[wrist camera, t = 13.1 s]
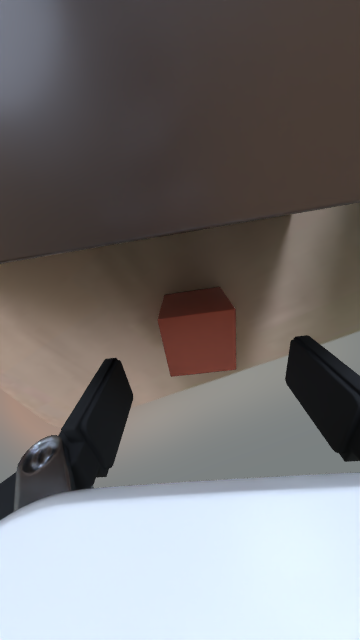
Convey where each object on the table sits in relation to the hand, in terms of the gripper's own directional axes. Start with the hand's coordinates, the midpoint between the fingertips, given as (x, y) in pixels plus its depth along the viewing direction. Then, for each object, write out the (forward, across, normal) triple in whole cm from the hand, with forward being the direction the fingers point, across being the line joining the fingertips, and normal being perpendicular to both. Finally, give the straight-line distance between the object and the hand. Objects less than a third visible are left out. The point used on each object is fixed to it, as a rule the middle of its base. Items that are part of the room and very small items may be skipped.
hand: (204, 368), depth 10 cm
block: (+6, 0, 0) cm, 6 cm away
